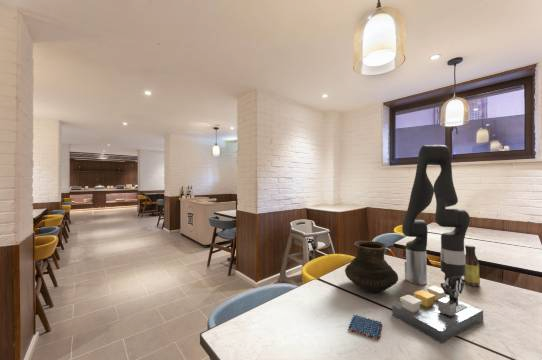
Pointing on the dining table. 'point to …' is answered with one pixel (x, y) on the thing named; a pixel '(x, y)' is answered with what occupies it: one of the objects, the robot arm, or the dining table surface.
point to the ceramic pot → (371, 268)
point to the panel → (439, 319)
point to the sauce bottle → (471, 267)
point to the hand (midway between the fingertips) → (453, 305)
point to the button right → (437, 292)
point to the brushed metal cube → (447, 306)
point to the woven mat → (366, 327)
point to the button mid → (425, 297)
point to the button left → (411, 303)
